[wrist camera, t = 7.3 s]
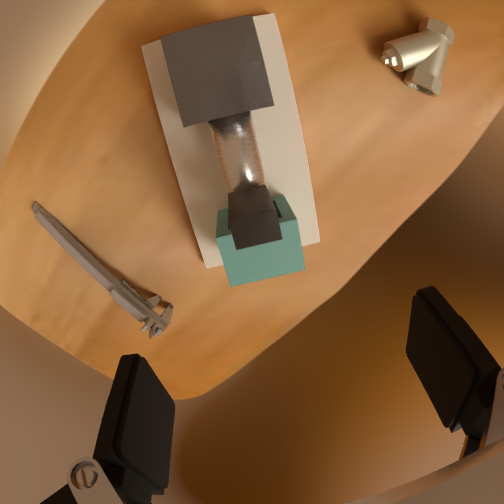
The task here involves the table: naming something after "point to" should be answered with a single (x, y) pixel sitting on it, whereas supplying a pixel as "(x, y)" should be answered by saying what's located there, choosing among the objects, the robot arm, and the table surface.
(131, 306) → the caliper
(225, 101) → the dark grey block
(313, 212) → the base board
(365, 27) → the table surface
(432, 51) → the pipe fitting
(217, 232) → the socket block
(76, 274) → the table surface
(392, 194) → the table surface
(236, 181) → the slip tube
